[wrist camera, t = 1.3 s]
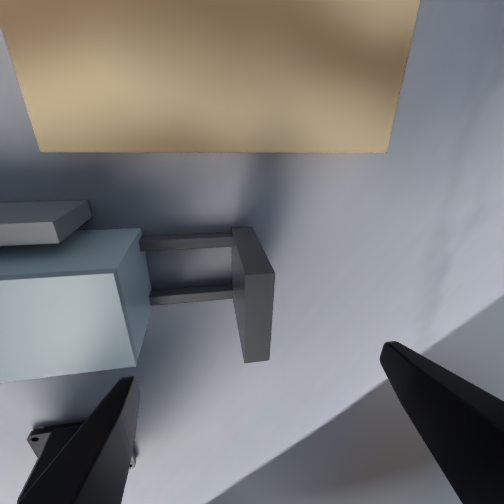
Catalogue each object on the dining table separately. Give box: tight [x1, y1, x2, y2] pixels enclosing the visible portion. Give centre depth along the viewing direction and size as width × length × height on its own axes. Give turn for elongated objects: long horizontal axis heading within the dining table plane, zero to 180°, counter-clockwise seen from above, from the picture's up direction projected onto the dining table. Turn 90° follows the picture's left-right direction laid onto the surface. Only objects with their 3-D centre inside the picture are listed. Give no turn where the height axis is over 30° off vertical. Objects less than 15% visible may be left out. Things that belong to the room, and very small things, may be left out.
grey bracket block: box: [0, 227, 275, 383], centre depth 13 cm, size 14×5×6 cm, turn 89°
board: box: [0, 0, 420, 153], centre depth 11 cm, size 9×16×2 cm, turn 89°
